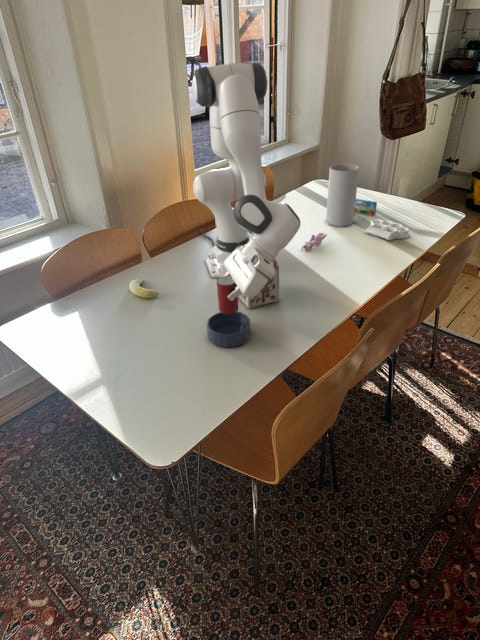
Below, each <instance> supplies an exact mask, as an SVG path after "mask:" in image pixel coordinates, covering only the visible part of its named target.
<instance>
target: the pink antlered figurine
mask: <svg viewBox="0 0 480 640" xmlns="http://www.w3.org/2000/svg"><path fill="white" fill-rule="evenodd" d="M327 236H328V234H327V233H324V232H319V233H317V234H316V235H315V234H312V235H311V237H310V238H309V241H305V242H304V245H302V247H301V251H304V250H305V251H306V252H308V251H312V249H313V247H314V246H315V247H318V246H320V245H322V243H323V240H324V239H325V238H326V237H327Z"/></svg>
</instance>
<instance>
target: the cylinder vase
mask: <svg viewBox="0 0 480 640" xmlns="http://www.w3.org/2000/svg"><path fill="white" fill-rule="evenodd" d="M328 171H329V173H328V185H327V186H328V187H327V189H328V190H327V202H326V215H325V216H326V217H325V221H326V223H327V224H328V225H330V226H333V227H348V226H351V225H352V224H353V223H354V221H355V202H356V199H357V192H358V181H359V171H360V166H359V165H357V164H353V163H335V164H332V165H330V166H329V170H328Z"/></svg>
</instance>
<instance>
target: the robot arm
mask: <svg viewBox="0 0 480 640" xmlns="http://www.w3.org/2000/svg"><path fill="white" fill-rule="evenodd" d="M268 85H269V81H268V75H267V72H266V69H265V67H264V66H263V65H262V64H259V63H255V62H249V63H243V62H230V63H229V62H228V63H223V64H218V65H211V66H207V65H206V66H202V67H199V68H196V69H195V71H194V73H193V77H192V79H191V91H192V94H193V97H194V99H195V102H196V103H197V104H198V105H199V106H200V107H205V108H209V130H210V133H209V134H210V145H211V146H210V147H211V150H212V151H213V153H214V154H215V155H216V157H219V158H221V159H223V160H226V161H228V167H224V168H219V169H218V168H217V169H209V170H207V171H204V172H202V173H199V174H196V176H195V177H194V180H193V182H192V190H193V194H194V196H195V198H196V199H197V201H199V202H200V203H201V204H203V205H204V206H206V207H207V208H208V209H209V210H210V211H211V213H212V214H213V216H214V220H215V224H216V233H217V234H216V240H215V242H214V240H213V238H211V237H210V236H207V235H206V234H205V233H204V231H203V229H200V231H199V232H200V233H201V235H202V236H203V237H204V238H206V239H208V240H209V241H210V242H211V244H212V247H211V249H210V253H208V257H207V258H206V259H205V264H206V266H207V269H208V271H209V274H210V276H211V277H212V278H217V279H218V278H220V277H223V276H231V277H232V279H233V280H234V282H235V283H236V284H237V287H236V288H235V289H236V290H234V291H233V292H229V294H228V295H227V297H228V299H229V300H231V301H233V300H234V299H235V298H236V297H237V296H239V295H241V294H242V293H243V294H244V295H245V296H247V297H248V298H253V297H255V296H256V295H257V294H258V293H259V292H260V291H261V290H262V288H263V287H264V286H265V285H266V283H267V281H268V278H270V279H271V278H272V277H273V276H274V275H275V270H274V265H273V261H274V260H276V258H277V257H278V255H279V253H280V252H281V251H282V250H283V249H285V248H286V247H287V246H288V245H289V244H290V242H291V241H292V240H293V239H294V238H295V236H296V234H297V233H298V231H299V230H300V228H301V219H300V217H299V216H298V214H297V213H296V211H294V209H293V208H292V207H291V206H290V205H289V204H288V203H286V202H276V201H272V200H268V197H267V194H266V193H267V191H266V186H267V178H266V174H265V172H264V170H263V166H262V124H261V123H262V122H261V113H260V107H259V102H261V101H262V100H264V98H265V97H266V95H267V91H268ZM233 201H236V202H235V205H234V207H233V206H232V203H231V202H233ZM248 233H249V234H251V235H252V237H251V238H250V236H249V234H248Z"/></svg>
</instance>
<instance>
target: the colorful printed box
mask: <svg viewBox="0 0 480 640" xmlns="http://www.w3.org/2000/svg"><path fill="white" fill-rule="evenodd" d="M377 205H378V202H377V201H373V200H367V199H359V198H356V202H355V212H354V214H355V213H356V214H362V215H368V216H369V215H370V216H375V215H376V214H377V208H378V207H377Z"/></svg>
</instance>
